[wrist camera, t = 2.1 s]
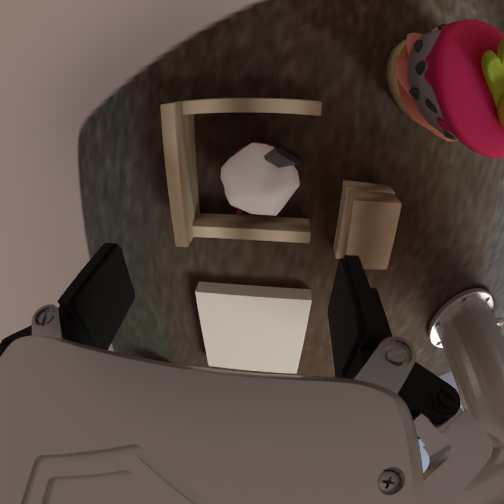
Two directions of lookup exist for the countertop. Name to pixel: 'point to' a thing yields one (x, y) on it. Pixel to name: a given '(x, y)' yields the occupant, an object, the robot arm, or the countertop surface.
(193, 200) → the frame
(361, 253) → the offcut upper
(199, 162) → the countertop surface
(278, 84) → the countertop surface
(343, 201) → the offcut lower
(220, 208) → the countertop surface
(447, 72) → the cake
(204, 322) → the cutting board
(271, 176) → the cocoa
